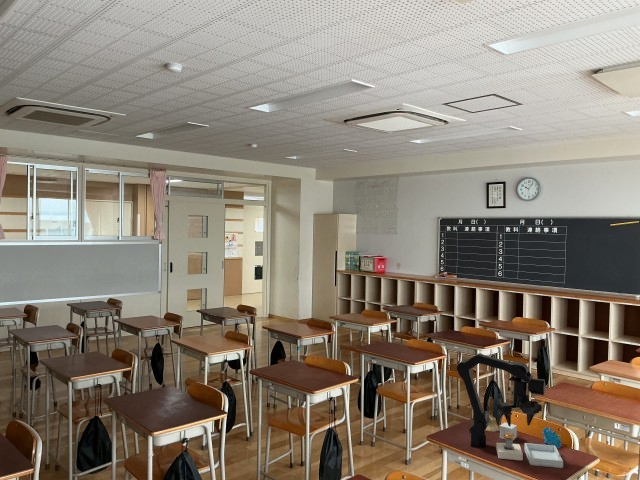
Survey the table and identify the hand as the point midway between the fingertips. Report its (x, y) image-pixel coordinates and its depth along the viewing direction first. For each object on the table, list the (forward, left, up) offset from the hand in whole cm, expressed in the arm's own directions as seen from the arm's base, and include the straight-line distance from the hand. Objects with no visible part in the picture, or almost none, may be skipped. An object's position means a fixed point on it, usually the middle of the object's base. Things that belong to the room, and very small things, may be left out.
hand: (518, 425), depth 235 cm
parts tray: (+10, -4, -12) cm, 16 cm away
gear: (+16, +12, -13) cm, 24 cm away
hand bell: (-9, +27, -13) cm, 32 cm away
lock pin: (-4, -3, -12) cm, 13 cm away
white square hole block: (-4, -3, -12) cm, 13 cm away
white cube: (-2, +17, -13) cm, 22 cm away
